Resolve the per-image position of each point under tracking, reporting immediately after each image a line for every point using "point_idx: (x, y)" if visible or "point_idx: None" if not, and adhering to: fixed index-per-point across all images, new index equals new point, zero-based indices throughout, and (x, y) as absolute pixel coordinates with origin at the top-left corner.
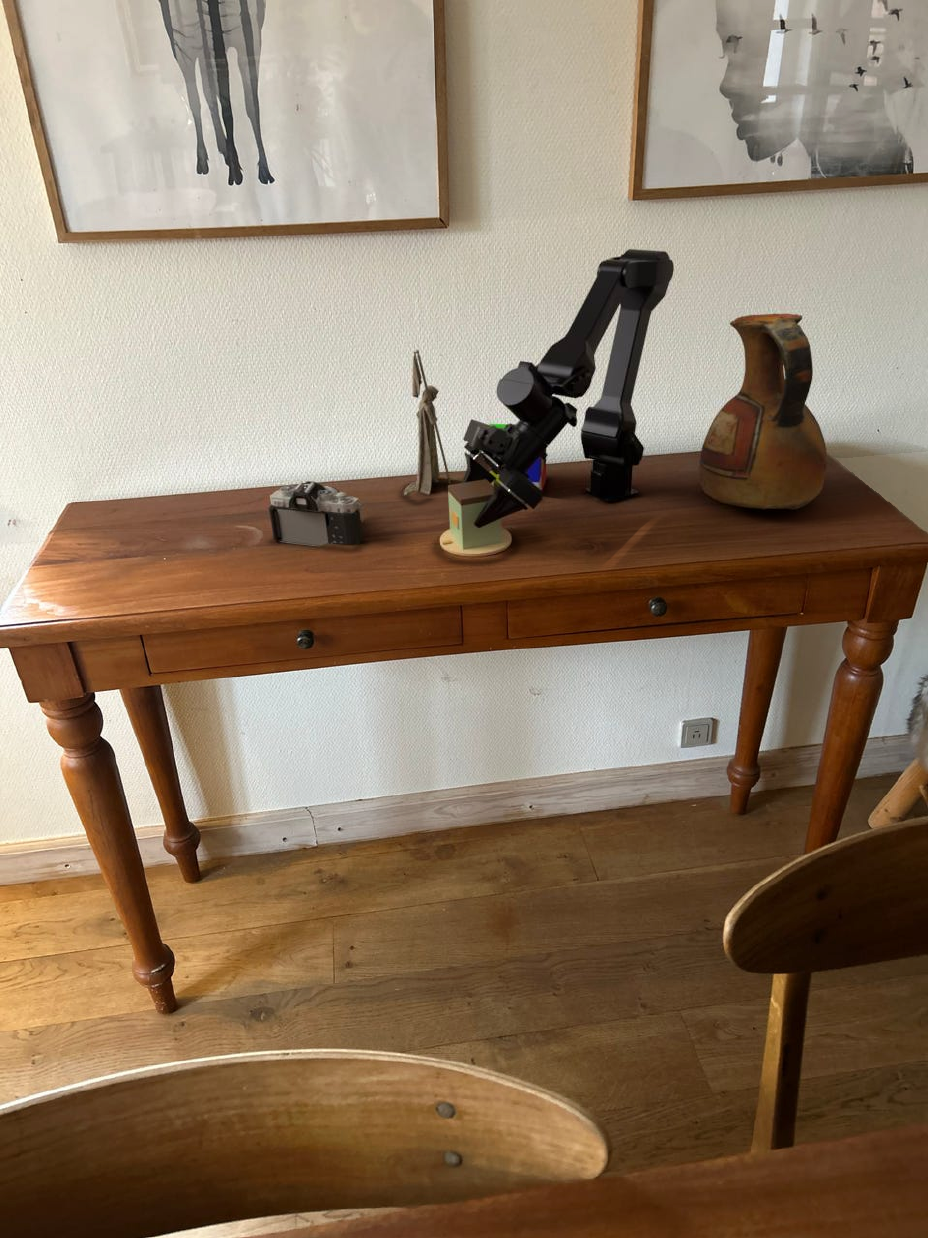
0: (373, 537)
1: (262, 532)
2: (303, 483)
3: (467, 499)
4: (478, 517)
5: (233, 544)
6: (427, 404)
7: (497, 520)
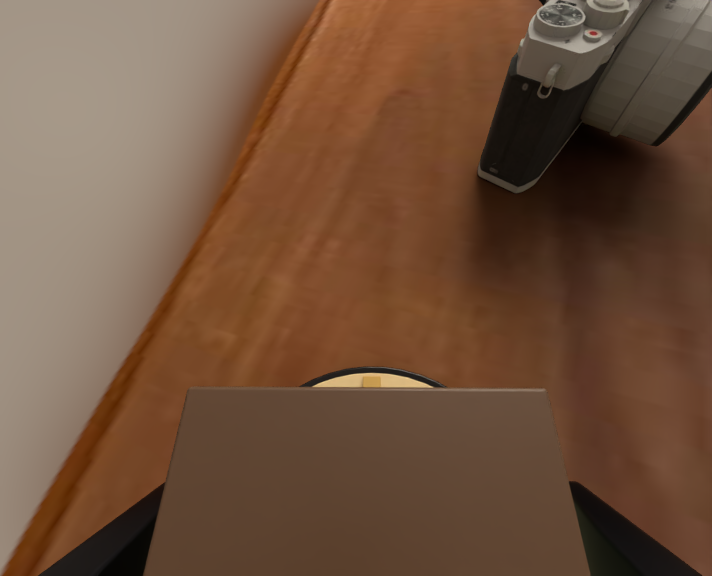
0: (552, 223)
1: None
2: None
3: (176, 449)
4: (140, 509)
5: None
6: None
7: None
